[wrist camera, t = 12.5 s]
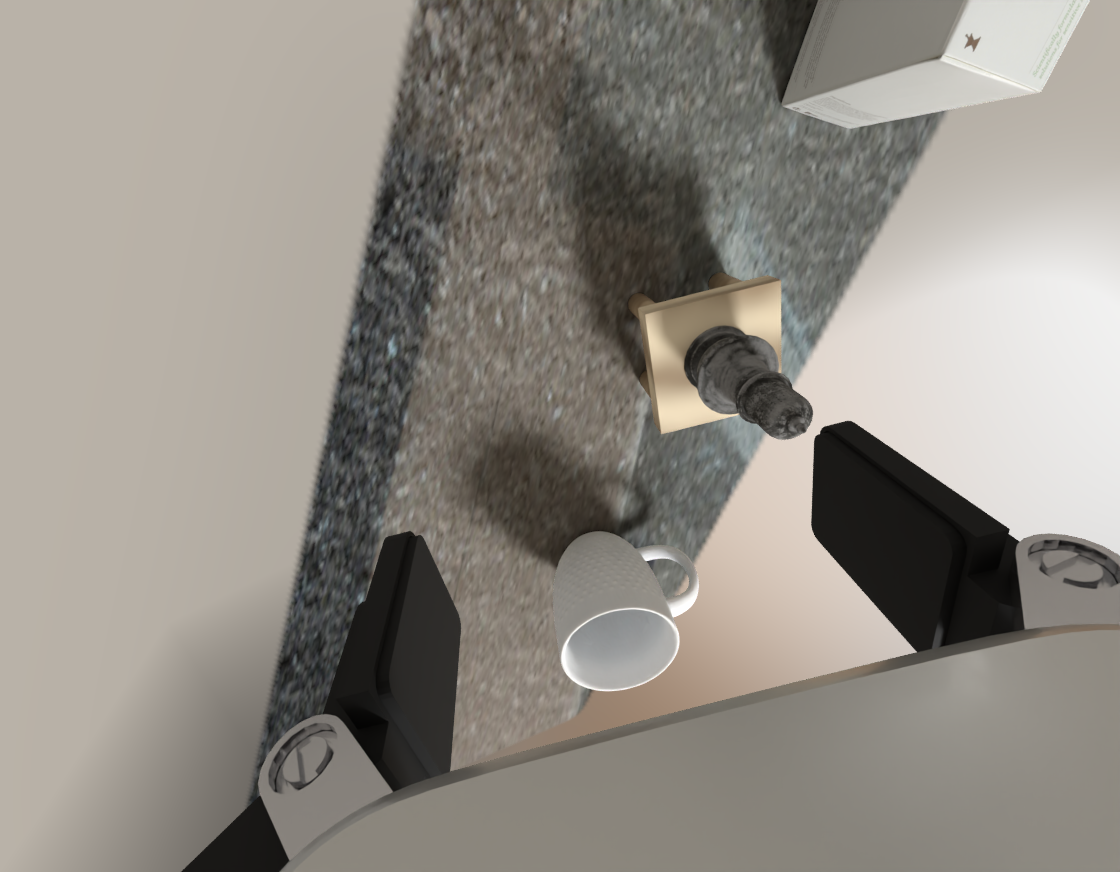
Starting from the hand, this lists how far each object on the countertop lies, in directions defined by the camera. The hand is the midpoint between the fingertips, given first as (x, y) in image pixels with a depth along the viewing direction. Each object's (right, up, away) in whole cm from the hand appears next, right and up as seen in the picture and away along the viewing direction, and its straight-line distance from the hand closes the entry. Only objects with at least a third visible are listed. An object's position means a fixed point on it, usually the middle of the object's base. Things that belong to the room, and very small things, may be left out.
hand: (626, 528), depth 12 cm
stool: (+9, +12, +33) cm, 36 cm away
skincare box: (+19, +30, +25) cm, 43 cm away
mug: (+3, -11, +44) cm, 46 cm away
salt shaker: (+10, +8, +26) cm, 29 cm away
